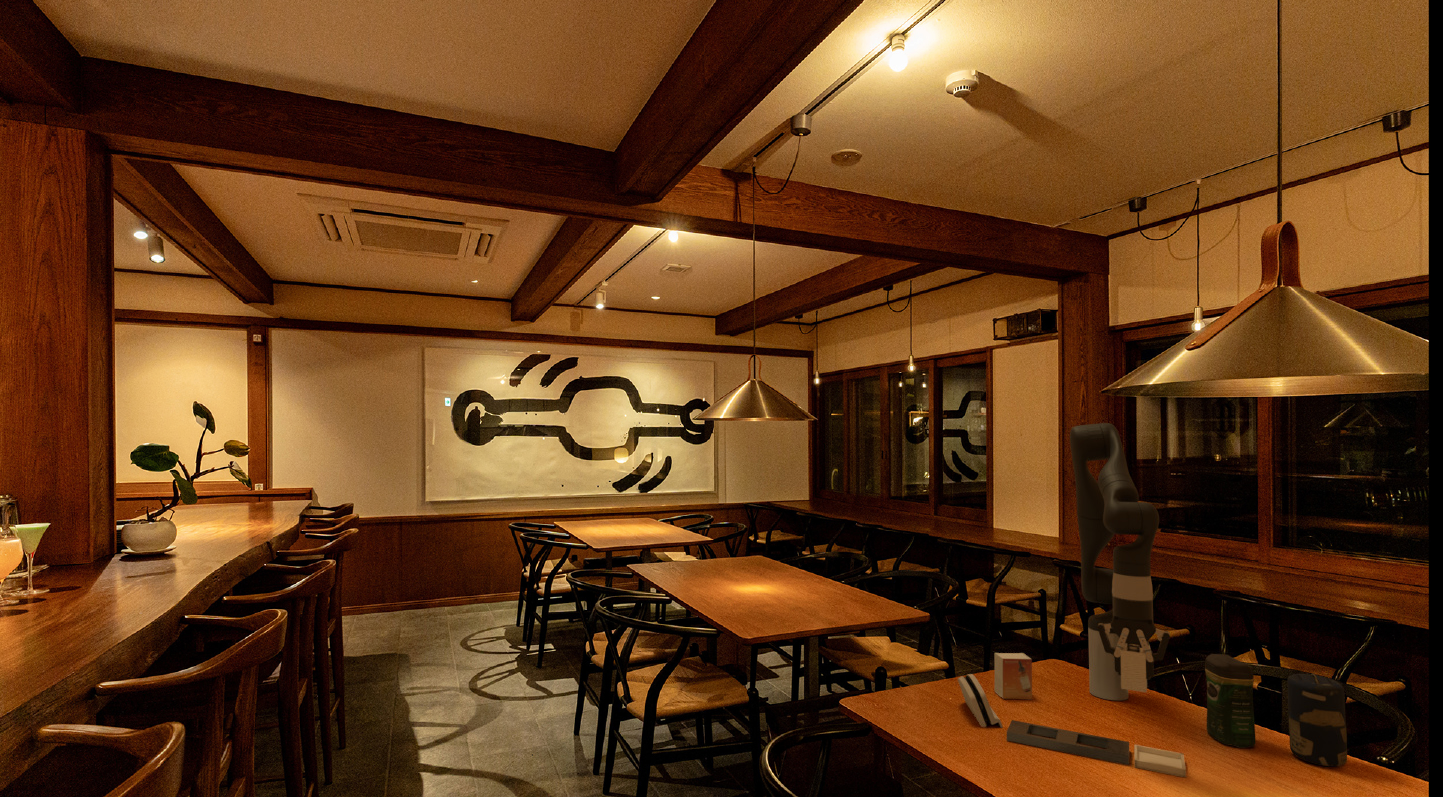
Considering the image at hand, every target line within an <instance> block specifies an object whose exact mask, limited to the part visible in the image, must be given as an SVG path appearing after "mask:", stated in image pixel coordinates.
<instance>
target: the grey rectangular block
mask: <svg viewBox="0 0 1443 797" xmlns="http://www.w3.org/2000/svg"><path fill="white" fill-rule="evenodd" d="M1140 646H1141V645H1136V644H1134V643H1131V644H1127V646H1124V647H1123V649H1121V689H1127V690H1128V691H1133V692H1134V691H1135V692H1141V693H1147V692H1148V690H1147V689H1148V679H1146V659H1147V658H1146V652H1144V651H1143V649H1142V647H1140Z"/></svg>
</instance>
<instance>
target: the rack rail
mask: <svg viewBox="0 0 1443 797" xmlns="http://www.w3.org/2000/svg"><path fill="white" fill-rule="evenodd" d="M1044 736H1045V737H1044ZM1049 737H1050V738H1049ZM1006 742H1011V743H1017V744H1020V745H1021V744H1023V745H1026V746H1031V747H1036V748H1042V749H1046V750H1050V751H1051V750H1052V751H1056V752H1061V753H1065V754H1070V755H1071V754H1072V755H1077V756H1081V757H1085V758H1090V759H1095V760H1100V761H1105V762H1111V763H1116V764H1120V765H1125V766H1130V742H1129V741H1127V740H1121V739H1115V738H1111V737H1105V736H1100V735H1095V734H1094V735H1093V734H1089V733H1084V732H1080V731H1079V732H1078V731H1072V730H1067V729H1063V728H1057V727H1052V726H1048V725H1047V726H1046V725H1041V724H1037V723H1036V724H1034V723H1030V722H1025V721H1020V720H1015V719H1011V721H1010V723H1009V726H1008V728H1007V729H1006Z"/></svg>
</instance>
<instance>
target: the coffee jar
mask: <svg viewBox="0 0 1443 797" xmlns="http://www.w3.org/2000/svg"><path fill="white" fill-rule="evenodd" d="M1204 671H1205V676H1206V677H1205V678H1206V698H1207V699H1206V731H1207V734H1209V736H1210V737H1212V738H1214V740H1216V741H1218V742H1220V743H1221V744H1223V745H1228V746H1232V747H1236V748H1239V749H1240V748H1241V749H1243V748H1244V749H1246V748H1251V747H1255V745H1256V744H1257V740H1256V739H1257V738H1256V726H1255V714H1254V713H1255V712H1254V696H1253V691H1254V690H1253V689H1254V684H1255V683H1254V682H1255V678H1254V672H1253V671H1254V669H1253V667H1252V666H1251V665H1249V664H1248V663H1245V662H1243V661H1241V660H1239V659H1236V658H1235V657H1232V656H1230V655H1229V654H1224V653H1222V654H1221V653H1210V654H1209V655H1207V656H1206V658H1205V664H1204Z"/></svg>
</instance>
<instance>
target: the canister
mask: <svg viewBox="0 0 1443 797" xmlns="http://www.w3.org/2000/svg"><path fill="white" fill-rule="evenodd" d="M1286 681H1287V704H1288V705H1287V707H1288V708H1287V709H1288V731H1289V748H1290V752H1291V753H1292V754H1293V755H1294V756H1295V757H1296V758H1299V759H1300V760H1303V761H1305V762H1307V763H1312V764H1315V765H1319V766H1320V765H1321V766H1325V767H1340V766H1345V765H1346V763H1347V762H1348V747H1347V746H1348V738H1347V736H1348V734H1347V722H1346V721H1347V720H1346V719H1347V718H1346V703H1345V702H1346V701H1345V698H1346V697H1345V688H1344V686H1343V684H1341V683H1340V682H1339V681H1337V680H1334V679H1332V678H1328V677H1325V676H1321V675H1317V674H1315V673H1311V674H1309V673H1293V674H1291V675H1288V677H1287V680H1286Z"/></svg>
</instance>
